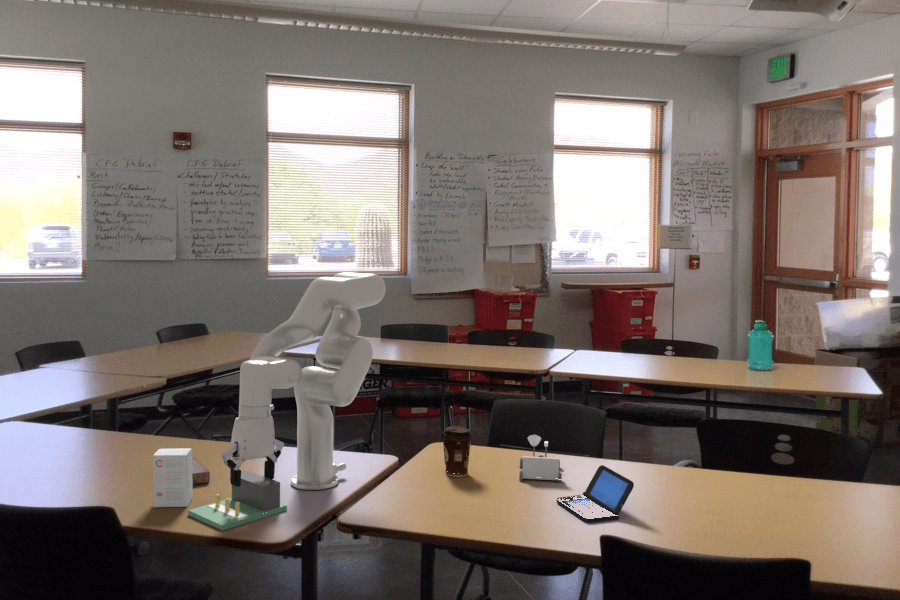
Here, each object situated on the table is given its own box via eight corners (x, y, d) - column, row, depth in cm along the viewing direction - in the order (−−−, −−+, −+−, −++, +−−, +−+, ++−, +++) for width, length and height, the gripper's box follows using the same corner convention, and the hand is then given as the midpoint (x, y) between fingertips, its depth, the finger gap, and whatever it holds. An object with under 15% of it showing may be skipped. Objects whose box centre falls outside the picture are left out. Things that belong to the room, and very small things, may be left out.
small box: (193, 498, 194) (192, 447, 193) (186, 507, 188) (186, 454, 187) (159, 498, 194) (159, 447, 193) (152, 507, 187) (152, 455, 186)
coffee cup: (437, 476, 217) (438, 431, 216) (444, 468, 225) (445, 424, 224) (467, 479, 215) (468, 433, 214) (474, 471, 223) (475, 426, 222)
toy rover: (521, 431, 232) (560, 433, 230) (519, 464, 232) (558, 466, 231) (520, 448, 214) (562, 450, 213) (519, 482, 215) (561, 485, 213)
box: (169, 488, 201) (169, 476, 201) (156, 471, 216) (156, 460, 216) (211, 483, 207) (211, 471, 206) (195, 467, 221) (196, 456, 221)
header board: (252, 496, 197) (252, 480, 196) (286, 510, 188) (286, 493, 187) (188, 515, 183) (188, 497, 183) (222, 530, 174) (222, 512, 174)
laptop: (554, 503, 198) (555, 467, 197) (599, 498, 203) (601, 463, 202) (586, 525, 184) (587, 487, 183) (634, 519, 188) (635, 481, 188)
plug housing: (248, 494, 195) (248, 470, 195) (279, 506, 187) (280, 482, 186) (231, 498, 191) (231, 475, 191) (263, 511, 183) (263, 486, 183)
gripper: (274, 405, 196) (272, 472, 197) (214, 413, 183) (212, 485, 184) (293, 410, 191) (291, 478, 192) (233, 418, 178) (231, 492, 179)
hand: (252, 481), depth 188 cm, fingers open, 9 cm apart
